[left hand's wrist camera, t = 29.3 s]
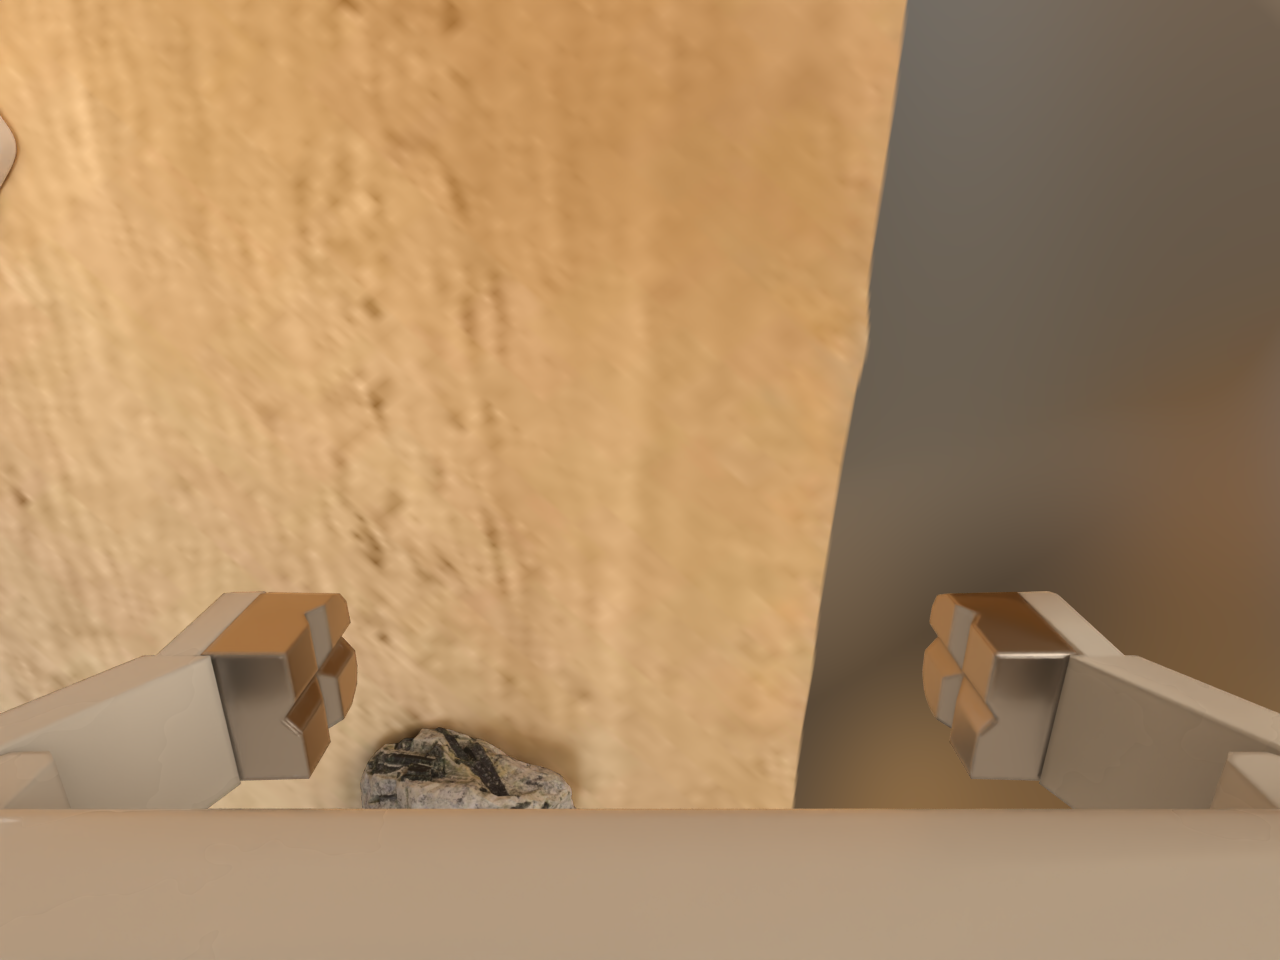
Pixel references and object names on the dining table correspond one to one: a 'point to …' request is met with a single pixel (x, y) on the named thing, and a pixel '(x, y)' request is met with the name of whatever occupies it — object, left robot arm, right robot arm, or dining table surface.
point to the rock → (457, 776)
